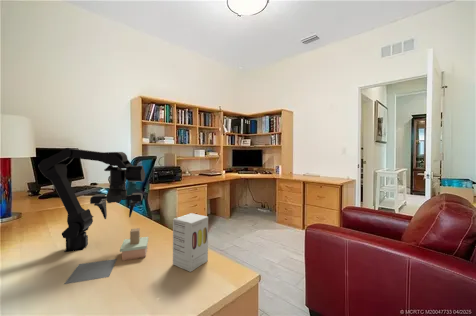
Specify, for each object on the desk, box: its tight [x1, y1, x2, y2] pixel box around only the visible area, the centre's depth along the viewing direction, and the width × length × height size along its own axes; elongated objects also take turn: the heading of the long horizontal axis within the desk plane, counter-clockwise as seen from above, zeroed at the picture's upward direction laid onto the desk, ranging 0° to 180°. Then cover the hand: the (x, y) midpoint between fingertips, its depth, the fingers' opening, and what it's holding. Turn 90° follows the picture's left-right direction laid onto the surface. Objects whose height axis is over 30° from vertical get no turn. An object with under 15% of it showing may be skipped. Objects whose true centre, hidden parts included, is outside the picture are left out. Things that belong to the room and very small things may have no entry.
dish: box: [121, 247, 148, 261], centre depth 83 cm, size 8×8×4 cm
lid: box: [119, 227, 149, 253], centre depth 83 cm, size 9×9×6 cm
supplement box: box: [172, 212, 209, 273], centre depth 78 cm, size 10×9×17 cm
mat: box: [63, 258, 118, 285], centre depth 72 cm, size 12×12×1 cm
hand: (117, 218), depth 90 cm, fingers open, 9 cm apart
